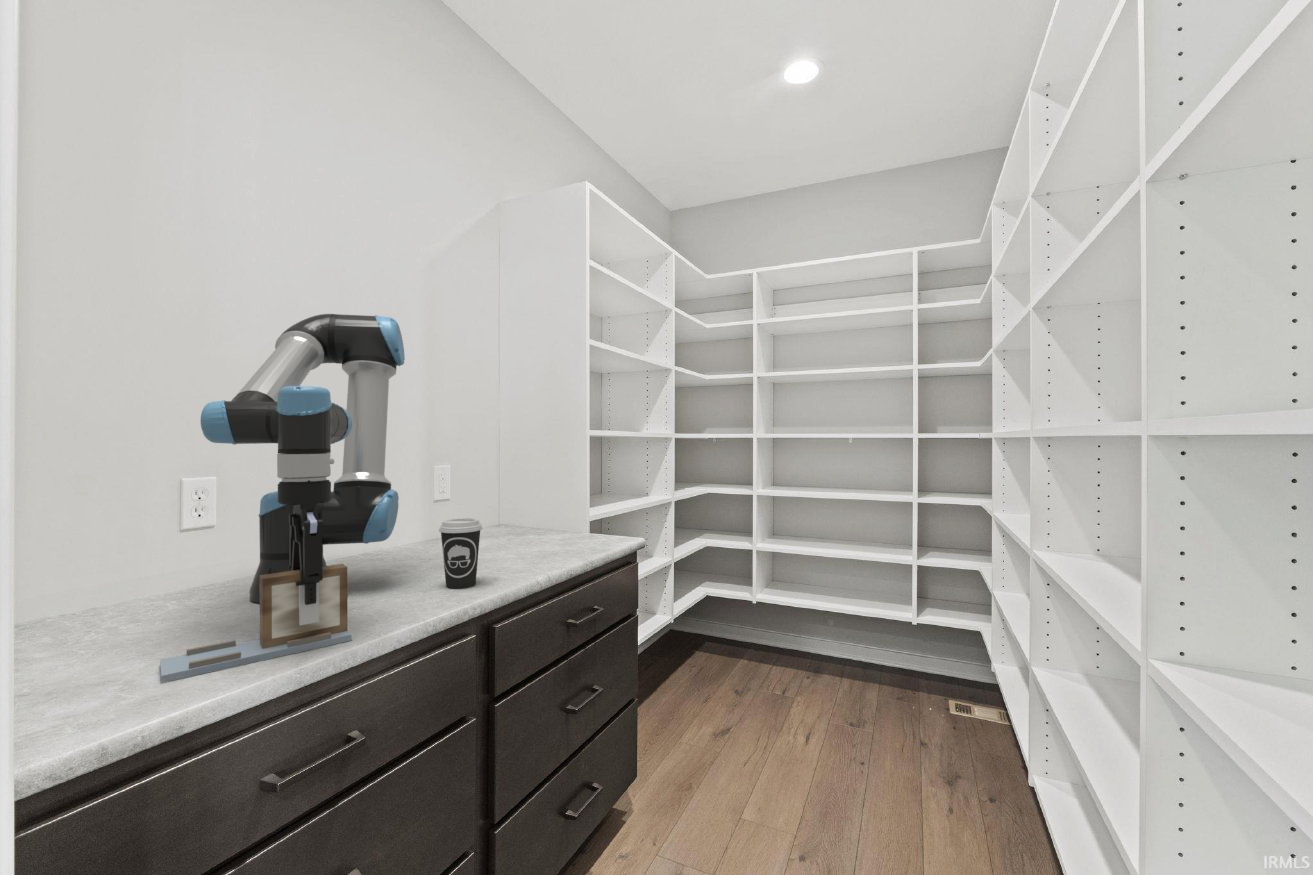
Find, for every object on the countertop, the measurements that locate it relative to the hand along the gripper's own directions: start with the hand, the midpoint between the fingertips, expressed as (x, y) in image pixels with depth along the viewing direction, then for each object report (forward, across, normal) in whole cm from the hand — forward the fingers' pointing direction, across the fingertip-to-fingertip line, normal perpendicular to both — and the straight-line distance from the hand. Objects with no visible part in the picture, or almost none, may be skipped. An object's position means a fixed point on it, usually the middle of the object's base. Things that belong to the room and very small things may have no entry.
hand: (305, 618), depth 93 cm
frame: (+3, 0, 0) cm, 3 cm away
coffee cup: (+4, +18, -34) cm, 39 cm away
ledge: (+4, 0, +6) cm, 7 cm away
